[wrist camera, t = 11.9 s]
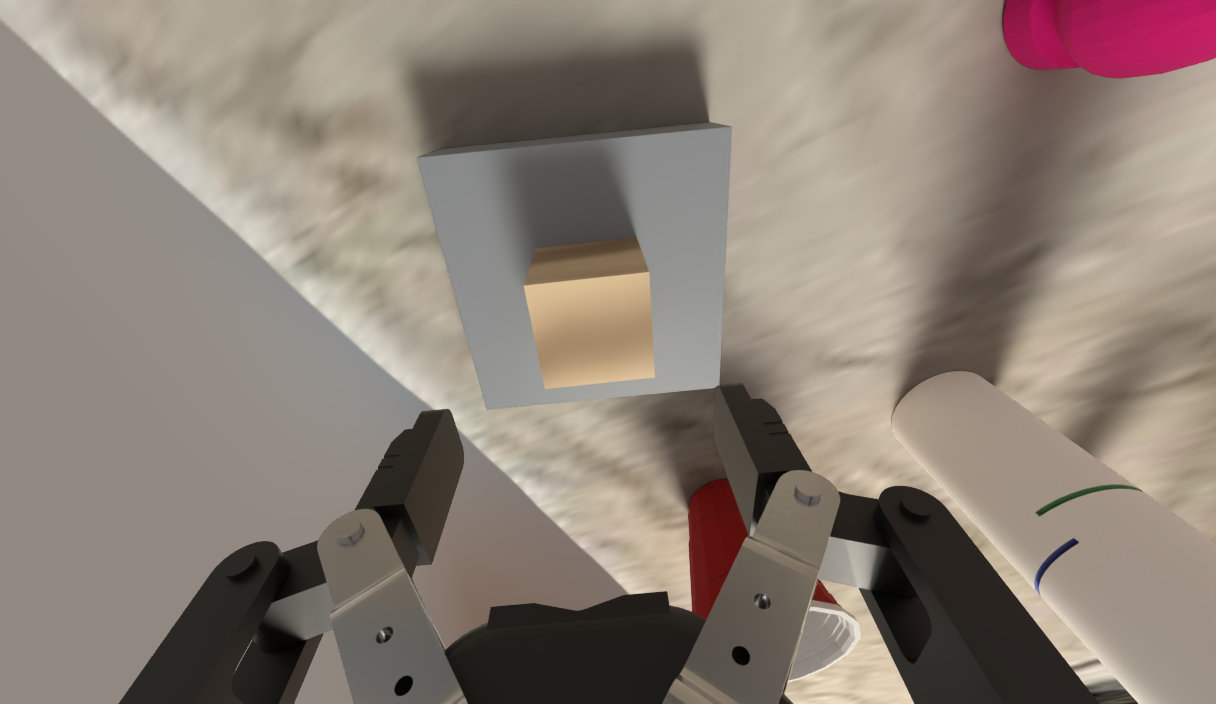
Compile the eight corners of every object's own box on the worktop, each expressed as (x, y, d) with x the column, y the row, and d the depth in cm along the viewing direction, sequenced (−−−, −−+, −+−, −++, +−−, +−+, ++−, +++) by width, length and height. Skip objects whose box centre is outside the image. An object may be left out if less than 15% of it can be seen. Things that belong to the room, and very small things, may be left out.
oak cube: (535, 248, 22) (523, 285, 18) (636, 237, 22) (649, 271, 18) (552, 337, 24) (544, 388, 20) (642, 327, 24) (654, 377, 20)
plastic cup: (694, 560, 41) (731, 717, 31) (635, 492, 36) (656, 651, 26) (805, 514, 39) (886, 668, 28) (758, 435, 34) (835, 584, 24)
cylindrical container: (872, 435, 34) (1360, 1010, 13) (933, 359, 31) (1731, 961, 9) (945, 455, 36) (1495, 1004, 14) (1011, 385, 33) (1858, 959, 11)
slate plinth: (441, 148, 23) (416, 157, 20) (709, 122, 23) (731, 126, 20) (498, 373, 30) (486, 409, 27) (703, 354, 30) (719, 387, 27)
